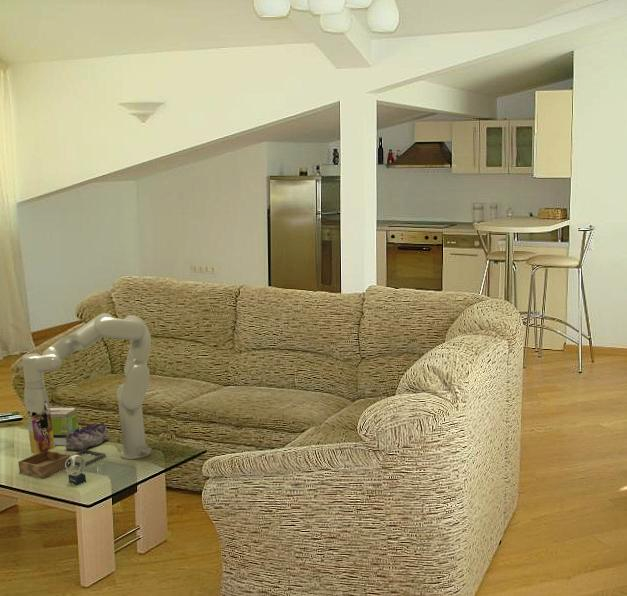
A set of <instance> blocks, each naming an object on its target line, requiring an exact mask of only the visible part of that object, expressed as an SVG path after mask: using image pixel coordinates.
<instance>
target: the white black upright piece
mask: <svg viewBox="0 0 627 596" xmlns="http://www.w3.org/2000/svg"><path fill="white" fill-rule="evenodd" d="M72 455H73V456H71V455H70V456H71V457H70V458H68V459H67V460H66V462H65V469H64V470H65V471H66V472H67V474H68V475H67V476H68V483H70V484H72V483H73V484H72V485H74V484H75V485H74V486H79V485H81V483H82V484H84V483H83V482H85V483H87V478H86V477H87V476H86V474H85V473H83V472H84V470H85V468H86V467H85V462H86V460H85V457H83V455H81V456H79V455H74V454H72ZM76 457H77V458H80V460H81V461H80V462H81V464H80V466H79V467H78V471H76V472H73V473H72V470H73V469H74V468H75V467H76V466H75V461H76V459H77V458H76Z"/></svg>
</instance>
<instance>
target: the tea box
mask: <svg viewBox="0 0 627 596" xmlns="http://www.w3.org/2000/svg"><path fill="white" fill-rule="evenodd" d="M49 408H50V410H51V413H50V415H51V423H52V430H53V438H54V445H55V446H66V439H65V438H66V435H68V434H70V433H71V432H72V431H76V430H79V429H80V427H79V419H78V411H77V407H49ZM38 414H39V413H38Z"/></svg>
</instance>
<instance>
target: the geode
mask: <svg viewBox="0 0 627 596" xmlns="http://www.w3.org/2000/svg"><path fill="white" fill-rule="evenodd" d="M108 431H109V430H108V427H107V426H106V425H105V424H104V422H101V423H98V424H95V423H93V424H87V425H85V426H83V427H82V428H79V430H76V431H72V432H71V433H70V434H68V435H66V438H65V439H66V445H65V449H66V451H79V452H80V451H83V450H87V449H89V448H94V447H97V446H101V445H102V444H103V442H106V441H109V432H108Z"/></svg>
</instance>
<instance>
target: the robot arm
mask: <svg viewBox="0 0 627 596" xmlns="http://www.w3.org/2000/svg"><path fill="white" fill-rule="evenodd" d="M103 338H108V339H113V340H114V339H115V340H117V339H118V340H125V341H126V340H127V341H130V344H129V349H128V353H127V358H126V361H125V365H124V367H123V372H124V375H125V380H124V382H123V383H121V384H120V385H119V386H118V388H117V391H116V399H117V405H118V412H119V420H120V429H121V439H122V449H123V450H121V452H120V454H119V455H120V458H121V459H124V460H138V459H143V458H146V457H147V456H149V455H150V454H151V452H152V451H153V448H152V447H149V446H148V443H147V442H146V435H145V434H146V433H145V424H144V413H143V404H144V401H145V397H146V394H147V389H148V386H149V381H150V377H151V376H150V369H149V367H148V361H149V357H150V352H151V348H152V336H151V332H150V330H149V327H148V325H147V324H146V322H144V320H143V319H142V318H140V316H137V315H135V314H129V315H127V316H126V317H124V318H119V317H117V318H116V317H114V316H113V315H112V314H110V313H108V312H107V313H106V312H103V313H101V314H98V315H97V316H95V317H93V318H92V319H91V320H90V321H87V322H86V323H85V324H84V325H82V326H81V327H79V328H78V329H76V330H75V331H73V332H71V333H69V334H68V335H66V336H64V337H62V338H61V339H59V340H57V341H56V342H54V343H53V344H51V345H50V346H49V347H47V348H46V349H45V350H44V351H43V352H42V354H41V355H40V354H39V353H28V354H26V355H23V357H22V369H23V377H24V384H25V387H24V391H23V392H24V393H23V398H24V399H23V400H24V401H23V403H24V410H25V411H27V413H28V414H29V417H30V416H34V415H37V413H39V414H40V417H41V419H40V424H41V429H44V428H46V427H48V422H47V418H48V415H49V414H50V413H51V410H50V408H51V407H50V402H49V396H48V393H47V388H46V384H45V376H44V372H56V371H58V370H60V368H61V367H62V365H63V360H64V359H65V358H66V357H68V356H69V355H71V354H72V353H75V352H78V351H83V350H86V349H88V348H90V347H91V346H93V345H94V344H95V343H97V342H98V341H100V340H101V339H103ZM42 413H44V415H43V414H42Z"/></svg>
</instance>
